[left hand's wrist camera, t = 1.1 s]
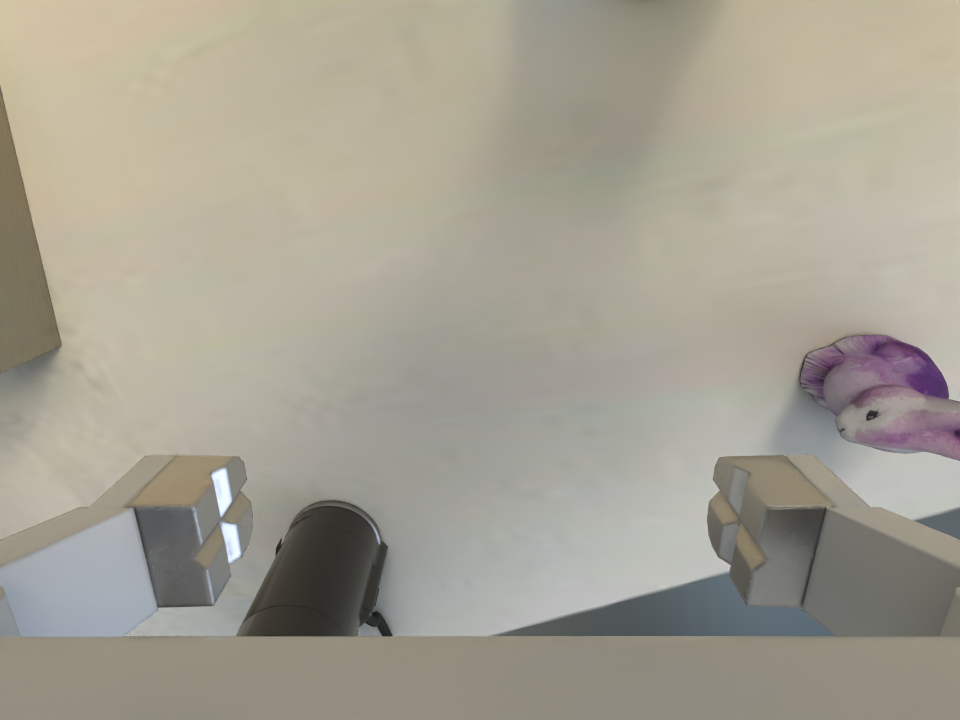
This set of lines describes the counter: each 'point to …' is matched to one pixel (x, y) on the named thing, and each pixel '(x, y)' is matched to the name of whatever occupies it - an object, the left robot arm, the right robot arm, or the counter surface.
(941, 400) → the figurine
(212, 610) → the counter surface
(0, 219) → the bar
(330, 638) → the left robot arm
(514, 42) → the counter surface
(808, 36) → the counter surface
